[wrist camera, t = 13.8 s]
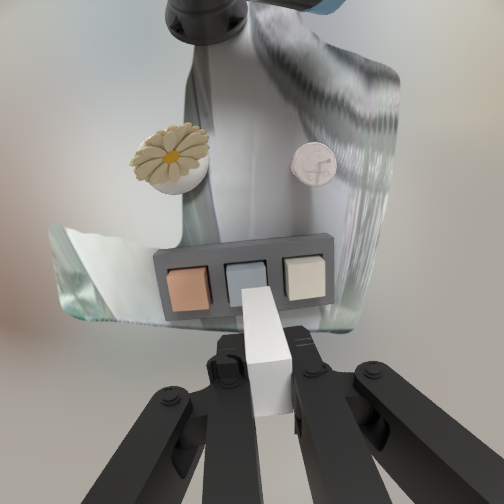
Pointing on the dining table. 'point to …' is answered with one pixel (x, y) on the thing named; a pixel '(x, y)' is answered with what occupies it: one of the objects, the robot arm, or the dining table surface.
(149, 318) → the dining table surface
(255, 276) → the key slate
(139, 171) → the flower in vase
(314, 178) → the smoothie
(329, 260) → the console
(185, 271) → the key terracotta
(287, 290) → the key cream
